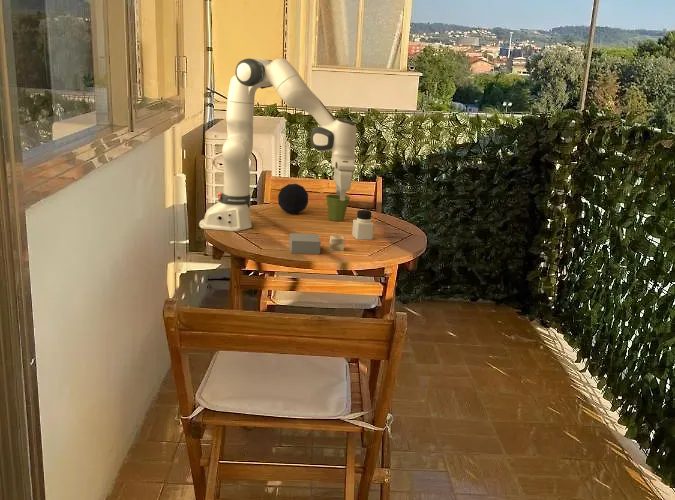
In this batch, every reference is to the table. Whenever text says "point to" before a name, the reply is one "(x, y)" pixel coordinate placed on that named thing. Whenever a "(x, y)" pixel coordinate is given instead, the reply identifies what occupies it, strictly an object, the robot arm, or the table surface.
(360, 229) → the medicine bottle
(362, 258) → the table surface
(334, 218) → the plant pot
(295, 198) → the decorative orb
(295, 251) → the grey block
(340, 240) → the ash cube
